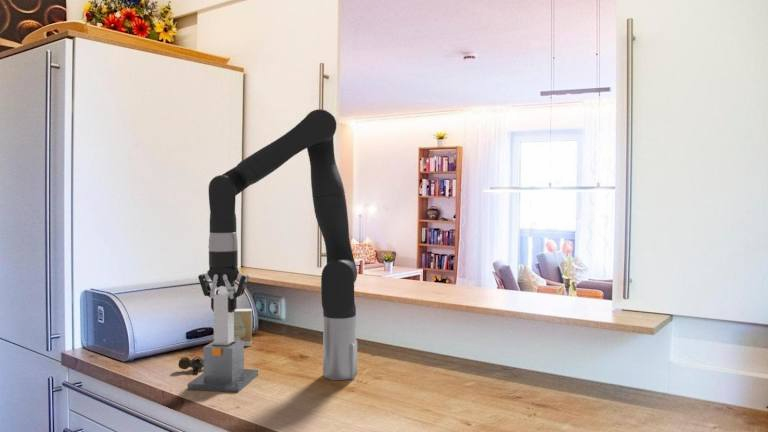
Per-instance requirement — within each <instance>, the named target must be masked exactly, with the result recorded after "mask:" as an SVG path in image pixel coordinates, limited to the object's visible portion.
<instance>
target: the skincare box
mask: <svg viewBox="0 0 768 432" xmlns="http://www.w3.org/2000/svg"><path fill="white" fill-rule="evenodd" d="M252 325H253V309H252V308H236V310H235V311H234V340H239V341H244V347H251V346H252V330H253V329H252V328H253V327H252Z"/></svg>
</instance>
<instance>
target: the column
mask: <svg viewBox="0 0 768 432" xmlns="http://www.w3.org/2000/svg"><path fill="white" fill-rule="evenodd" d="M229 299H230V297H229V294H228V292H220V291H219V293H217V294H215V295H214V312H213V341H214V346H225V347H229V346H231V345H232V344H234V312H232V313H230V312H229Z"/></svg>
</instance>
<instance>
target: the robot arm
mask: <svg viewBox="0 0 768 432" xmlns="http://www.w3.org/2000/svg"><path fill="white" fill-rule="evenodd" d="M336 132H337V120H336V117H335V116H334V114H333V113H331V112H330V111H328V110H326V109H322V108H319V109H313V110H311V111H309V112H308V113H307V114H306V116H305V117H304V118H303V119H302V120H300V122H298V123H297V124H296V125H295V126H294V127H293V128H291V129H290V130H288V131H287V132H286V133H284V134H283V135H281V136H280V137H278V138H277V139H275V140H273V141H271V143H269V144H267V145H265V146H263V147H262V148H260V149H259V150H257V151H256V152H254V153H252V154H251V155H249V156H248V157H245V159H243V160H241V161H240V162H239V163H238V164H236V165H235V166H234V167H233V168H231V169H229V170H228V171H226V172H225V173H223V174H221V175H215V176H214V177H213V178H212V179H211V180H210V182H209V184H208V204H209V237H208V267H209V269H208V271H207V272H206V273H202V274H199V275H198V276H197V277H198V280H199V283H200V287H201V290H202V293H203V295H204V297H209V298H210V308H211V311H212V312H213V313H214V295H215V294H217V293H220V290H221V289H222V287H225V289H226V291H227V293H228V294H229V297H230V299H229V312H230V313H232V312H234V311H235V310H236V309H238V308H237V307H238V306H237V305H238V304H237V303H238V302H237V300H238V298H239V297H241V296H243V295H244V293H245V290H246V287H247V283H248V281H249V275H248V274H243V273H240V270H239V269H238V265H239V264H238V262H239V260H238V257H239V256H238V253H239V252H238V251H239V250H238V244H239V242H238V235H237V234H238V233H237V215H236V196H237V195H239V194H240V193H241V192H244V190H245V189H247V188H248V187H250V186H252V185H253V184H254V185H255V184H256V183H258V182H259V181H262V180H263V179H264V178H267V176H269V175H270V174H272V173H273V172H275V171H277V169H279V168H280V167H282V166H283V165H284V164H285V163H287V162H288V161H289V160H291V159H292V158H293V157H295V156H296V155H298V154H299V153H300V152H303V151H304V150H306V151H307V155H308V159H309V164H310V165H309V166H310V185H311V194H312V204H313V211H314V216H315V219H316V222H317V224H318V228H319V230H320V232H321V236H322V237H323V240H324V241H323V242H324V245H325V246H324V247H325V253H326V255H325V257H326V264H325V266H324V267H323V269H322V272H321V278H320V279H321V280H320V282H321V283H320V285H321V286H320V288H321V289H320V290H321V296H320V297H321V308H322V314H323V316H322V322H323V323H322V326H323V328H322V332H323V333H322V339H323V340H322V341H323V342H322V343H323V347H322V349H323V350H322V353H323V354H322V358H323V359H322V362H323V363H322V364H323V365H322V366H323V367H322V372H323V373H322V375H323V378H325V379H327V380H332V381H343V380H344V381H345V380H355V377H356V376H357V373H358V340H357V336H356V334H357V329H356V328H357V327H356V326H357V323H356V321H357V320H356V319H357V318H356V316H357V310H356V309H357V306H356V303H355V283H356V281H357V278H358V270H357V265H356V261H355V257H354V253H353V250H352V245H351V239H350V229H349V215H348V207H347V205H348V204H347V200H346V199H347V198H346V193H345V188H344V184H343V181H342V177H341V174H340V172H339V171H340V170H339V169H338V165H337V162H336V158H335V157H336V156H335V148H334V146H335V145H334V143H335V142H334V136H335V134H336ZM237 278H238V279H237ZM209 280H211V282H212V283H211V285H210V281H209ZM236 280H238V286H237V287H236V283H235V282H236Z"/></svg>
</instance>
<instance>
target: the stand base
mask: <svg viewBox="0 0 768 432" xmlns="http://www.w3.org/2000/svg"><path fill="white" fill-rule="evenodd" d="M244 348H245V346H244V341H239V340H234V344H232V345H231V346H229V347H225V346H214V340H212V341H211V342H210V343H208V344H207V345H204V346H203V357H202V358H203V360H204V367H203V373H201V374H200V375H198V376H197V377H196V378H194V379H192V380H191V381H189V382H188V383H187V390H189V391H190V390H192V391H195V390H196V391H209V392H211V391H213V392H214V391H215V392H228V393H239V392H240V391H241V390H243V388H245V387H246V386H247V385H249V383H251V382H252V381H253V380H254V379H256V377H258V376H259V369H251V368H250V369H248V368H245V351H244V350H245V349H244Z"/></svg>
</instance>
